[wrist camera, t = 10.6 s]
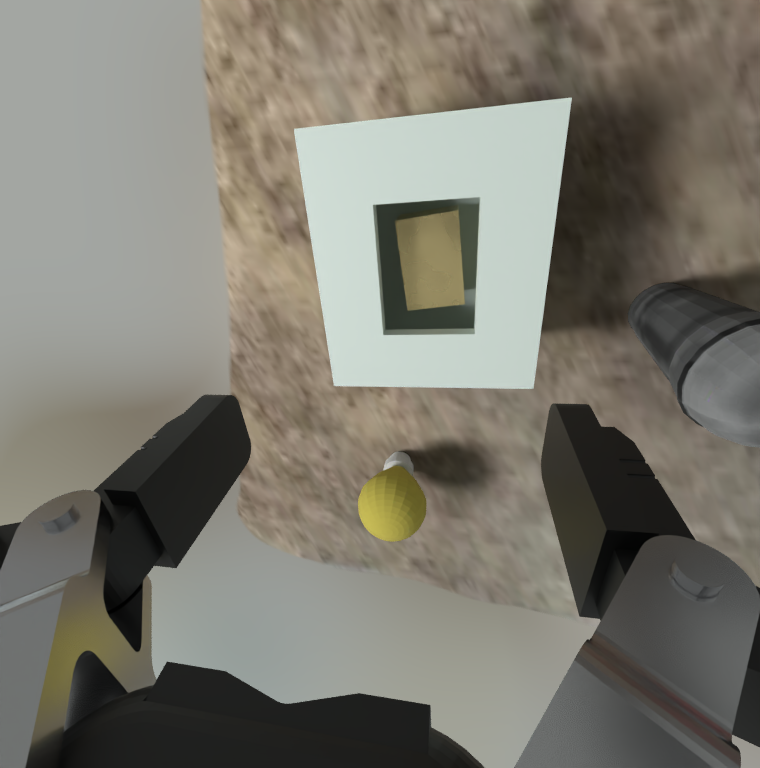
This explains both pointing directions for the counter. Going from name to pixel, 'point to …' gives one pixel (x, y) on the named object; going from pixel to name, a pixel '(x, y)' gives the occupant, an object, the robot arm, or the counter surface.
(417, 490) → the light bulb
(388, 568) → the counter surface
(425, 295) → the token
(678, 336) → the beverage cup
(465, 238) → the box
